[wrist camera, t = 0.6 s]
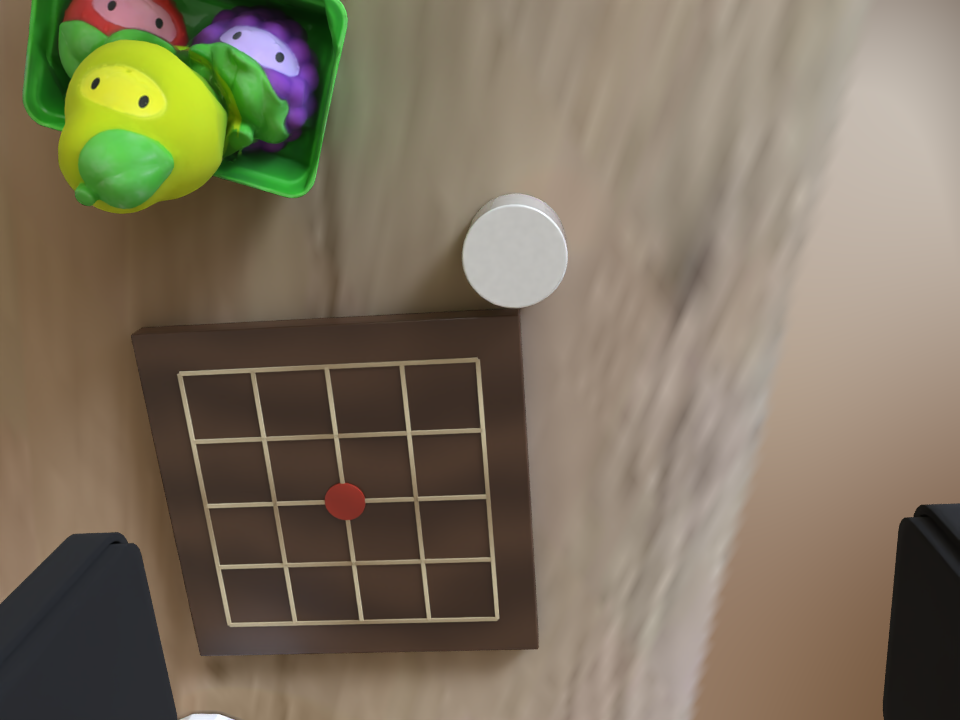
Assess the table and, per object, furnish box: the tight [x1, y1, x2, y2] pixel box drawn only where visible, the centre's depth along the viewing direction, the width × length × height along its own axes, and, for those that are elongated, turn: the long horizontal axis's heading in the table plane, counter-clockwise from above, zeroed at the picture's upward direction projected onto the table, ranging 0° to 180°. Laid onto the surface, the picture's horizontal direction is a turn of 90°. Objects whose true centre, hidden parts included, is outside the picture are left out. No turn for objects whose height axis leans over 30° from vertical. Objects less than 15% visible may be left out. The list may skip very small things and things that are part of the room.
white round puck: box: [462, 194, 568, 308], centre depth 37 cm, size 4×4×3 cm
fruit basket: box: [23, 0, 348, 214], centre depth 31 cm, size 11×9×11 cm
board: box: [131, 308, 539, 656], centre depth 42 cm, size 18×18×1 cm
